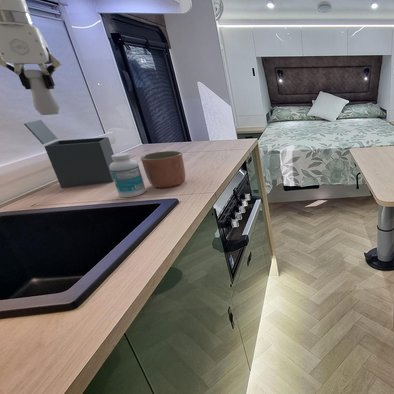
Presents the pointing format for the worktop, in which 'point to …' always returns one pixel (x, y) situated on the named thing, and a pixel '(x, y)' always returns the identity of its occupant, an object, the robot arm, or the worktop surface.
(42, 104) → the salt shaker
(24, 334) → the worktop surface
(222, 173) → the worktop surface
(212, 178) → the worktop surface
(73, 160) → the carton
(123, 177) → the pill bottle
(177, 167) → the planter
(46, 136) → the flap
